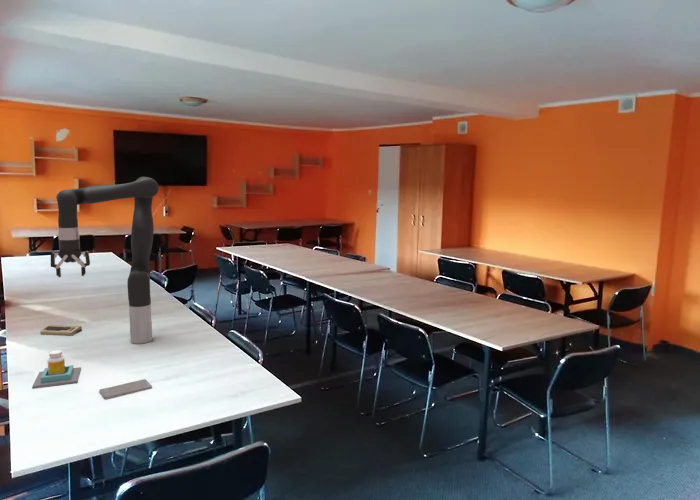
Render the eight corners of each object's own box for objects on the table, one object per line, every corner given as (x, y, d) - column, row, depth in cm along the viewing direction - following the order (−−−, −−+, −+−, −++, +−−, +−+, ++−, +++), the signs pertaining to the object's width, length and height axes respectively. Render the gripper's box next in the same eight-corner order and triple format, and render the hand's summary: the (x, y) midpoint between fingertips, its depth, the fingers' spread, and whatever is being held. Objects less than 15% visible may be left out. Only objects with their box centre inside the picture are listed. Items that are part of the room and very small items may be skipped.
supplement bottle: (46, 376, 183) (44, 351, 182) (62, 372, 187) (60, 348, 186) (51, 380, 180) (50, 355, 178) (67, 376, 184) (66, 351, 182)
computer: (40, 335, 232) (39, 328, 232) (51, 330, 240) (51, 323, 240) (71, 337, 231) (71, 330, 231) (82, 331, 239) (82, 325, 239)
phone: (98, 393, 174) (98, 389, 173) (145, 382, 184) (145, 378, 183) (104, 401, 167) (104, 397, 167) (152, 389, 177) (152, 386, 177)
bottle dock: (81, 369, 193) (80, 362, 192) (77, 382, 180) (76, 375, 180) (39, 373, 187) (39, 366, 187) (32, 388, 175) (31, 381, 174)
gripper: (47, 239, 198) (50, 279, 200) (87, 238, 203) (89, 277, 206) (50, 237, 204) (53, 275, 207) (89, 236, 210) (91, 273, 212)
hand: (71, 276), depth 206 cm, fingers open, 8 cm apart
